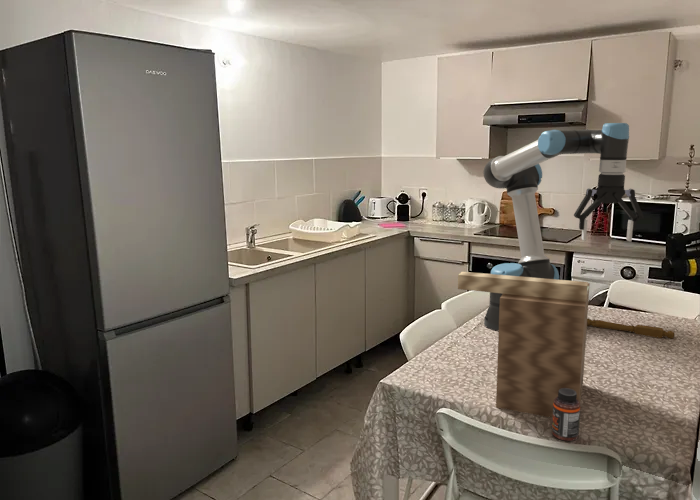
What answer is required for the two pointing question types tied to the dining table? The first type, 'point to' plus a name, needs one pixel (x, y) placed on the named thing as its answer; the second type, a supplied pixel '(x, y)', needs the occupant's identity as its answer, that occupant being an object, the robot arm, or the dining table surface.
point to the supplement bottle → (566, 415)
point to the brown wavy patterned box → (539, 351)
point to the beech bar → (523, 286)
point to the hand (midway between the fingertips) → (606, 240)
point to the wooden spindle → (632, 328)
